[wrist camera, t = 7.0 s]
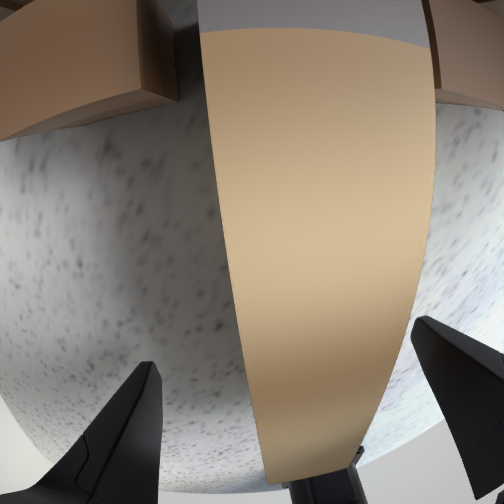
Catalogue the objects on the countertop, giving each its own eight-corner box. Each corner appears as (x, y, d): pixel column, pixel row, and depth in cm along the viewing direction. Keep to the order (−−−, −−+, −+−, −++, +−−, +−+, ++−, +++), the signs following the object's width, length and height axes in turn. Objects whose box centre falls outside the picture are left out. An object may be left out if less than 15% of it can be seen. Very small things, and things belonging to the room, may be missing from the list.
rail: (316, 375, 12) (348, 467, 8) (252, 386, 12) (267, 484, 8) (310, 18, 6) (402, -57, 2) (205, 21, 6) (191, -80, 2)
